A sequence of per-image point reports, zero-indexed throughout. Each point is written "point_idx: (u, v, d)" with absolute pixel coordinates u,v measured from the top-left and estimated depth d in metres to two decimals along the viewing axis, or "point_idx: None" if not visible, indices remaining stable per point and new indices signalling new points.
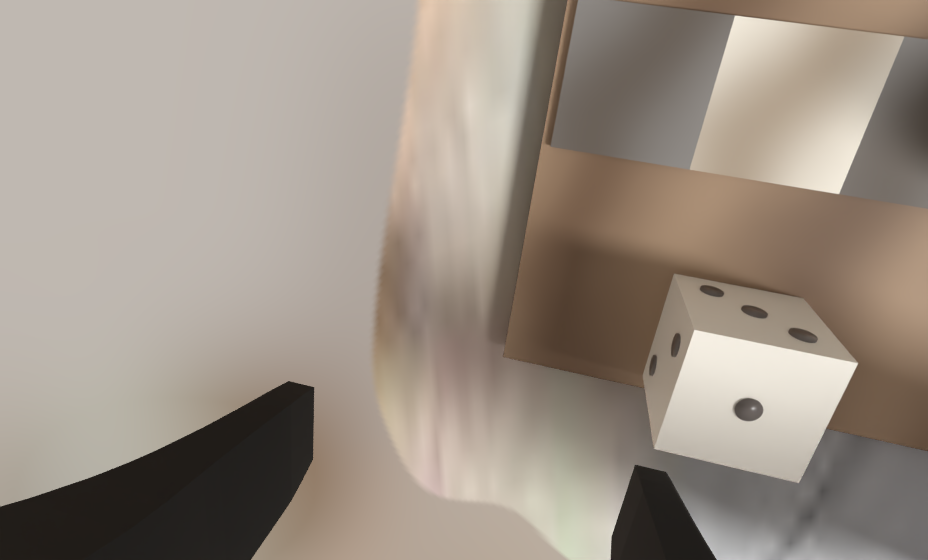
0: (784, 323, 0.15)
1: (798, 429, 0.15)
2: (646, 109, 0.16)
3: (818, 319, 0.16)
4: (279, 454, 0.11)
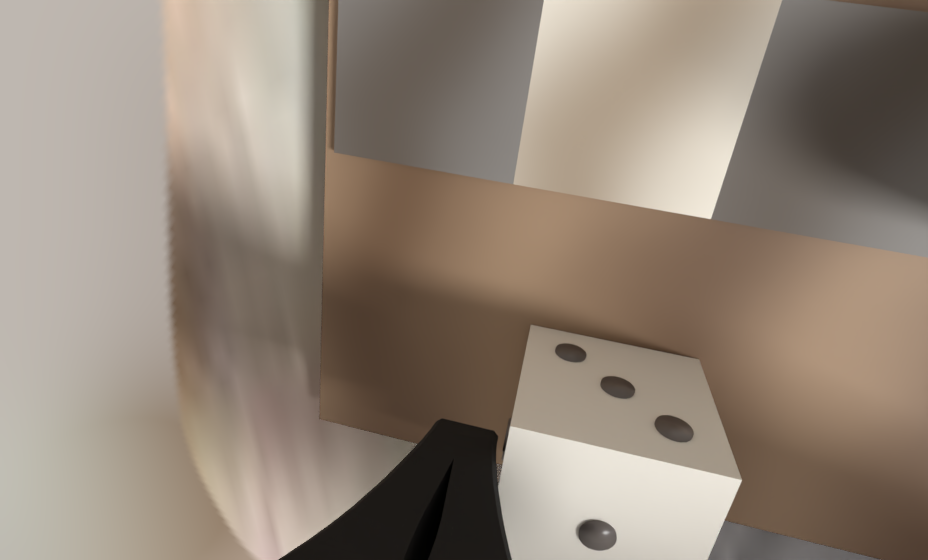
0: (654, 407, 0.11)
1: None
2: (448, 101, 0.12)
3: (708, 396, 0.12)
4: None
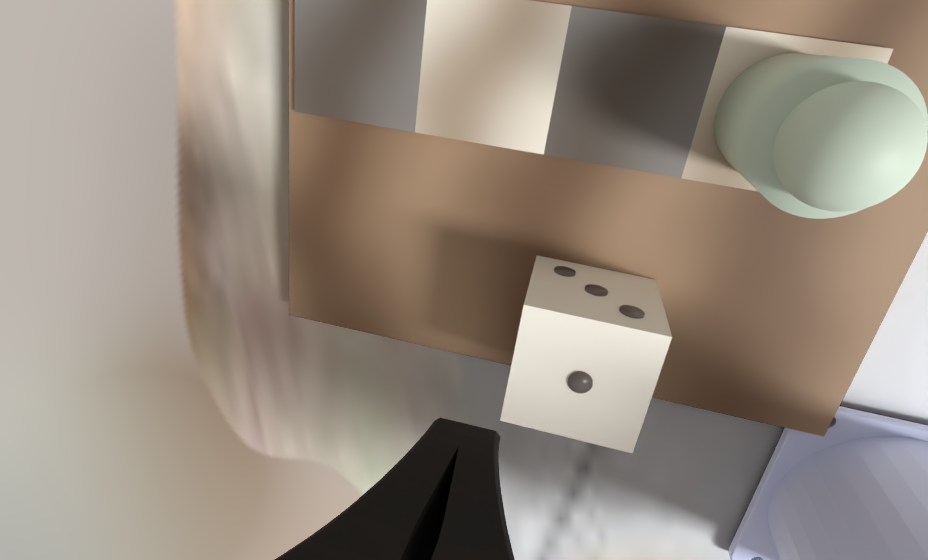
0: (620, 301, 0.16)
1: (626, 401, 0.16)
2: (369, 75, 0.17)
3: (658, 298, 0.17)
4: (447, 497, 0.10)
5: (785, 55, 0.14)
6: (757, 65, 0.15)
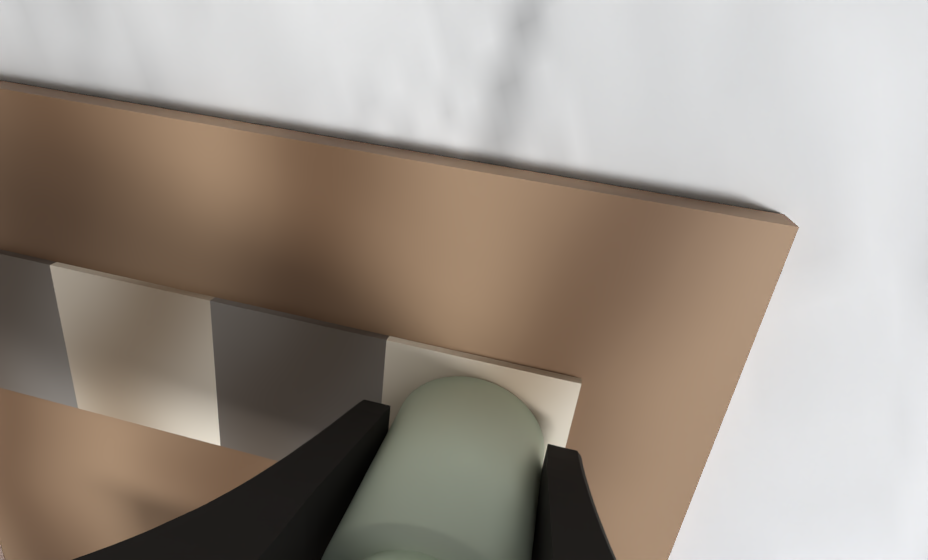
0: None
1: None
2: (13, 347, 0.14)
3: None
4: (362, 475, 0.11)
5: (446, 394, 0.11)
6: (421, 394, 0.12)
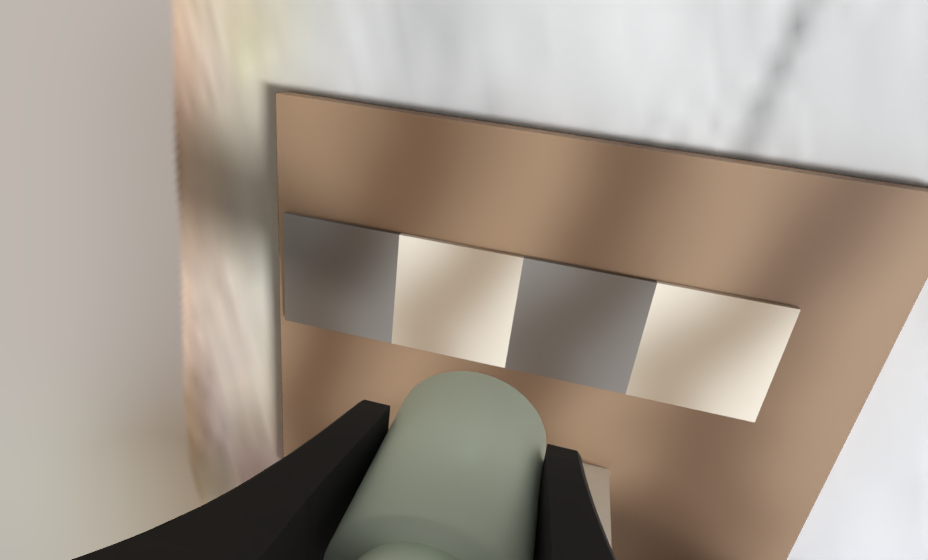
0: None
1: None
2: (350, 297, 0.20)
3: (607, 499, 0.19)
4: (362, 475, 0.11)
5: (448, 388, 0.11)
6: (424, 389, 0.12)
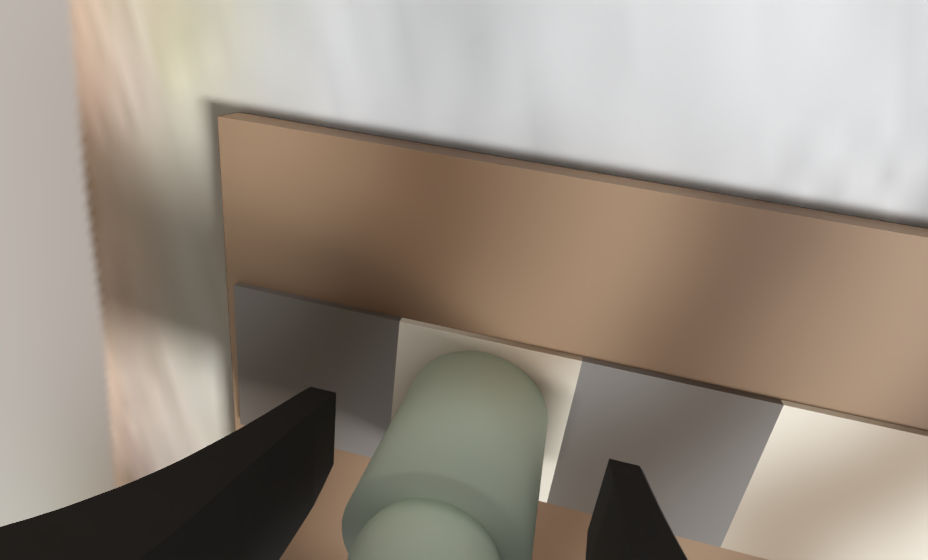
0: None
1: None
2: None
3: None
4: (303, 461, 0.11)
5: (456, 366, 0.12)
6: (433, 367, 0.12)
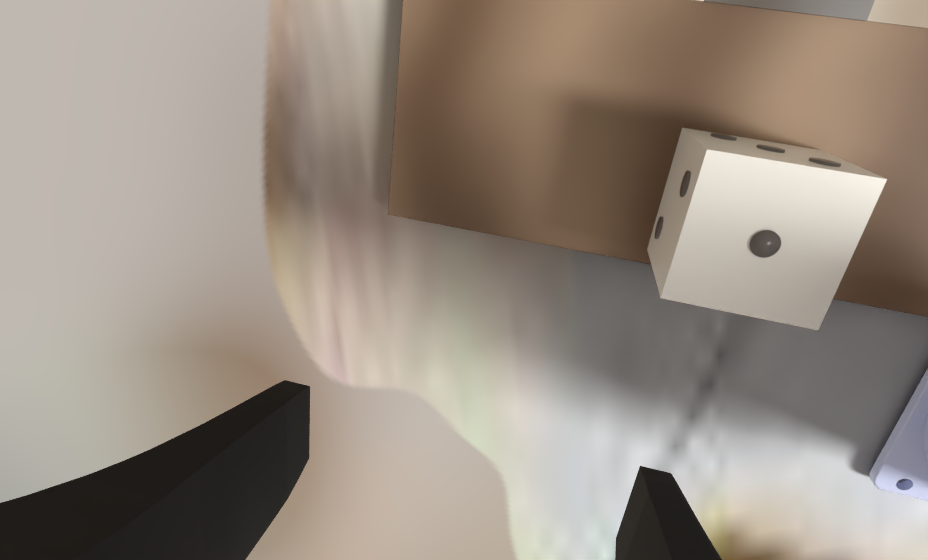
0: (803, 157, 0.14)
1: (819, 265, 0.14)
2: None
3: (839, 159, 0.15)
4: (275, 453, 0.11)
5: None
6: None
